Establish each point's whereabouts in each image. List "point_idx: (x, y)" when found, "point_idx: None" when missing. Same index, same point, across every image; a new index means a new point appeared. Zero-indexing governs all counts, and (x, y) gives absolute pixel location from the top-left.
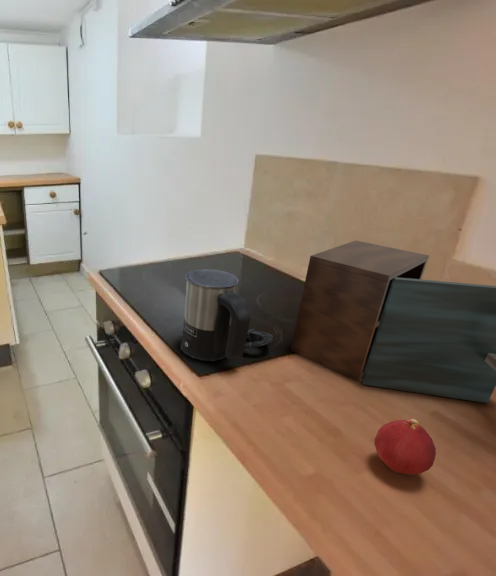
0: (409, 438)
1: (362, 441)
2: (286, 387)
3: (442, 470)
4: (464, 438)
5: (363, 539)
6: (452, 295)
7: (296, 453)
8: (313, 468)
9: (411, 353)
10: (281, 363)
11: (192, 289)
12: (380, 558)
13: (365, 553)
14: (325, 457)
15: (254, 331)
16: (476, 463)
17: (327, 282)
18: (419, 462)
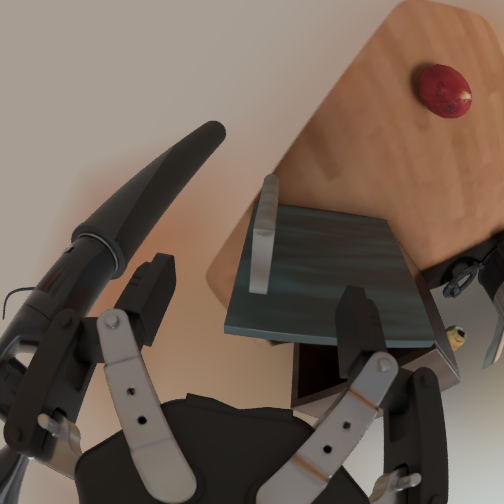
0: (465, 83)
1: (439, 126)
2: (465, 209)
3: (383, 85)
4: (326, 134)
5: (478, 32)
6: None
7: (496, 116)
8: (490, 97)
9: (360, 246)
10: (446, 250)
11: None
12: (472, 18)
13: (479, 23)
14: (478, 108)
15: (456, 293)
16: (339, 96)
17: (447, 346)
18: (448, 66)
